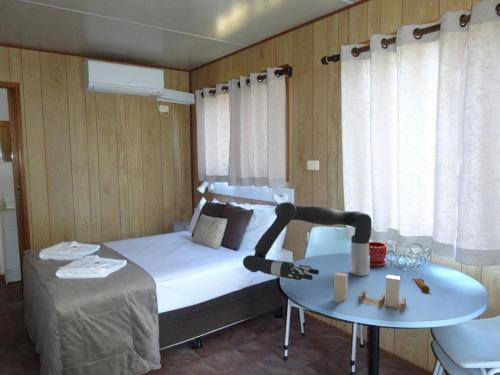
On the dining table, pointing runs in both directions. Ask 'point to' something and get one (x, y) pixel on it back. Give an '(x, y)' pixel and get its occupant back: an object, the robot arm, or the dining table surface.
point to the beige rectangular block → (340, 287)
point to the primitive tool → (422, 285)
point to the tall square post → (392, 291)
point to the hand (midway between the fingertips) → (315, 274)
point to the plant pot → (377, 253)
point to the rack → (379, 301)
